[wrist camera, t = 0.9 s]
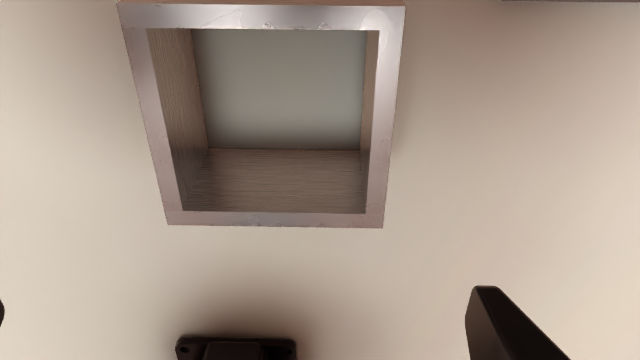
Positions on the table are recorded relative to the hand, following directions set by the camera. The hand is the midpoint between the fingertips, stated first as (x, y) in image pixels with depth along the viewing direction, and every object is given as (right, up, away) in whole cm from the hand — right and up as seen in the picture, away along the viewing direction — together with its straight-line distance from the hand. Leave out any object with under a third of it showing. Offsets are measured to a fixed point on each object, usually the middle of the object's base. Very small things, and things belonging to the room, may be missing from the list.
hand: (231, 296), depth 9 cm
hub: (0, +6, +8) cm, 10 cm away
